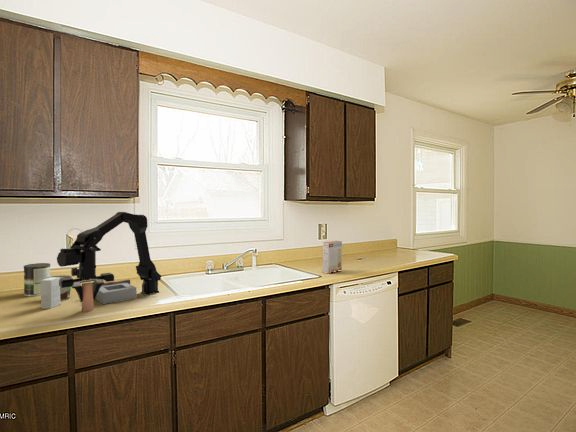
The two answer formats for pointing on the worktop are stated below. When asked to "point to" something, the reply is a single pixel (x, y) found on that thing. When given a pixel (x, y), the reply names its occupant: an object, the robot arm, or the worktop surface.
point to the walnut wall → (117, 282)
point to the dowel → (87, 297)
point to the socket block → (116, 293)
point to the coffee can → (35, 278)
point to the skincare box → (50, 292)
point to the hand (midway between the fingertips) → (87, 300)
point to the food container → (63, 291)
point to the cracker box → (332, 256)
